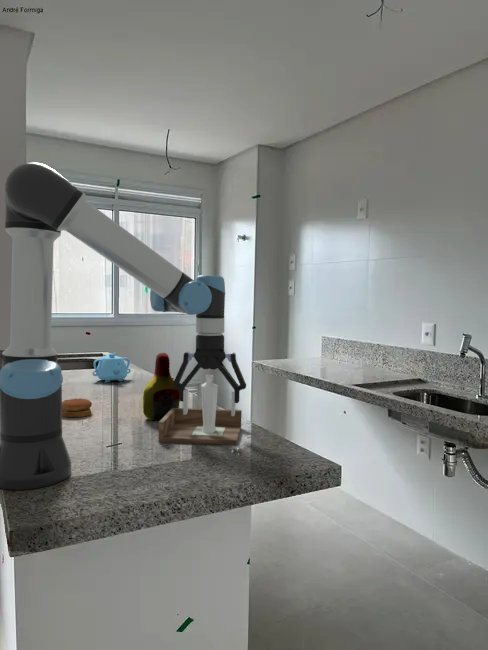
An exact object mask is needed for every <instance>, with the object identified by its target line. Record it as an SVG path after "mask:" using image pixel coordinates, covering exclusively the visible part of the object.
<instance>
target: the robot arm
mask: <svg viewBox="0 0 488 650" xmlns="http://www.w3.org/2000/svg"><path fill="white" fill-rule="evenodd" d="M4 193H5V194H4V195H5V196H4V197H5V199H4V202H5V203H4V204H5V207H4V208H5V210H4V213H5V214H4V215H5V217H4V218H5V219H4V221H5V222H4V223H5V224H4V230H5V232H6V233H7V234H8V235H9V236H10V237H11V240H12V241H11V242H12V246H11V249H12V250H11V278H10V280H11V283H10V285H11V287H10V291H11V292H10V324H9V325H10V326H9V327H10V329H9V330H10V331H9V332H10V333H9V346H8V347H7V348H6V349H5V350H3V351H2V355H1V357H2V360H1V368H0V489H4V490H11V491H13V490H15V491H17V490H21V491H22V490H32V489H39V488H43V487H44V488H45V487H48V486H51V485H55V484H57V483H60V482H62V481H64V480H65V479H67V478H69V476H70V475H71V474H72V459H71V457H70V455H69V452H68V449H67V446H66V443H65V441H64V437H63V417H62V402H63V396H62V395H63V388H62V386H63V382H64V381H63V379H64V377H63V373H62V368H61V366H60V365H59V364H58V355H59V354H58V351H56V349H54V347H52V317H53V316H52V315H53V314H52V311H53V309H52V308H53V279H54V278H53V275H54V273H53V272H54V271H53V270H54V243H55V241H56V240H57V239H58V238H60V237H61V235H62V233H61V232H62V231H65V232H67V233H68V234H70V235H71V236H72V237H74V238H76V239H77V240H78V241H80V242H81V243H83V244H84V245H86V246H88V247H89V248H90V249H91V250H93V251H94V252H96V253H97V254H99V255H100V256H102V257H103V258H105V259H106V260H107V261H109V262H110V263H112V264H113V265H115V266H116V267H118V268H119V269H121V270H122V271H123V272H124V273H126V274H127V275H129V276H130V277H132V278H134V279H135V280H137V281H138V282H139V283H141V284H142V285H144V286H145V287H146V288H147V289H149V290H150V293H149V300H150V307H151V309H152V310H153V311H154V312H161V313H180V314H181V313H182V314H187V315H190V316H193V315H195V332H196V333H197V334H196V336H195V352H189V351H186V352H184V353H183V356H182V358H183V359H182V363H181V365H180V367H179V370H178V371H177V373H176V375H175V378H174V379H173V380H174V382H173V387H176V388H178V389H179V400H180V401H179V402H182V403H183V404H182V408H183V415H186V414H187V413H188V408H189V388H186V387H187V385H188V384H189V383H190V381H192V379H193V378H194V377H195V375H196V374H197V373H198V372H199V371H200V369H203V370H209V369H210V370H217V369H218V371H220V373H221V374H222V375H223V377H224V378H225V379H226V381H227V382H228V384H229V385H230V386H231V387H232V390H231V409H230V410H231V416H234V415H235V410H236V404H239V402H240V391H242V390H245V389H246V388H247V383H246V381H245V379H244V375H243V374H242V371H241V369H240V366H239V364H238V362H237V355H236V353H235V352H232V353H226V351H225V335H224V334H223V333H225V309H226V308H225V306H226V305H225V303H226V302H225V301H226V285H225V278H224V277H223V276H222V275H221V276H220V275H198V276H196V279H195V280H194V279H193V278H191V277H190V276H189V275H188V274H186V273H185V272H183V271H182V270H181V269H179V268H178V267H176V266H175V265H174V264H172V263H171V262H170V261H169V260H167V259H165V258H164V257H163V256H162V255H160V254H159V253H158V252H156V251H155V250H154V249H153V248H151V247H150V246H148V245H147V244H146V243H144V242H143V241H141V240H140V239H138V238H137V237H136V236H134V235H133V234H132V233H130V232H129V231H128V230H126V229H125V228H123V227H122V226H121V225H120V224H118V223H117V222H116V221H114V220H113V219H112V218H110V217H109V216H108V215H106V214H105V213H104V212H102V211H101V210H100V209H98V208H97V207H95V206H94V205H93V204H92V203H90V202H89V201H88V200H87V197H86V196H87V195H86V193H85V192H83V191H82V190H81V189H79V188H78V187H77V186H76V185H74V184H73V183H72V182H70V181H69V180H68V179H67V178H66V177H64V176H62V175H61V174H60V173H59V172H57V171H56V170H55V169H53V168H51V167H50V166H48V165H46V164H44V163H40V162H26V163H21V164H19V165H18V166H16V167H14V168H13V169H11V171H10V172H9V174H8V175H7V177H6V180H5V183H4ZM193 358H194V359H195V361H196V362H197V364H196V365H195V366H194V367H193V369H192V370H191V371H190V373H189V374H188V375H187V376H186V378H185V379H183V381H182V382H181V380H182V378H183V376H184V373H185V371H186V369H187V366H188V365H189V362H190V361H192V360H193ZM225 359H227V361H228V362H230V363H231V366H232V369H233V371H234V373H235V376H236V378H237V380H238V383H237V381H236V379H234V378H233V376H232V375H231V373H230V372H229V370H228V369H227V368H226V366H225V364H224V363H223V362H224V361H225Z"/></svg>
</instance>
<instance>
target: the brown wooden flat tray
mask: <svg viewBox="0 0 488 650" xmlns="http://www.w3.org/2000/svg"><path fill="white" fill-rule="evenodd" d="M215 427H216V431H215V432H213V433H204V432H203V431H202V428H203V411H202V408H192V407H191V408H189V407H188V413H187V414H186V415H183V407H179V408H172V409H171V410H170V411H169V412H168V413H167V414H166V415H165V416H164V417H163V418H162V419H159V421H158V443H167V444H168V443H171V444H173V443H174V444H194V445H195V444H199V445H221V446H222V445H224V446H225V445H226V446H237V444H238V441H239V438H240V433H241V431H242V409H235V415H234V416H231V409H224V408H223V409H222V408H221V409H218V408H216V417H215Z"/></svg>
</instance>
